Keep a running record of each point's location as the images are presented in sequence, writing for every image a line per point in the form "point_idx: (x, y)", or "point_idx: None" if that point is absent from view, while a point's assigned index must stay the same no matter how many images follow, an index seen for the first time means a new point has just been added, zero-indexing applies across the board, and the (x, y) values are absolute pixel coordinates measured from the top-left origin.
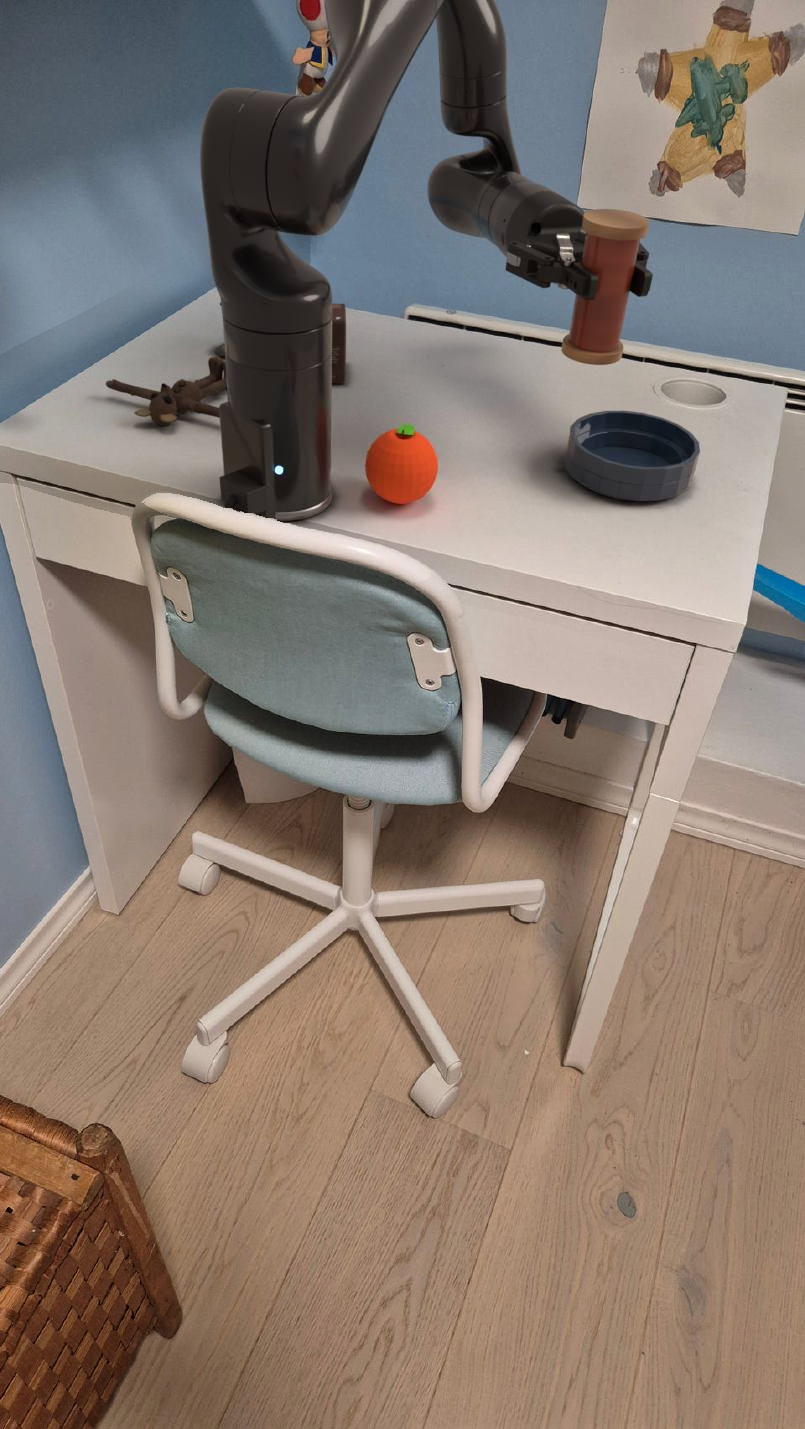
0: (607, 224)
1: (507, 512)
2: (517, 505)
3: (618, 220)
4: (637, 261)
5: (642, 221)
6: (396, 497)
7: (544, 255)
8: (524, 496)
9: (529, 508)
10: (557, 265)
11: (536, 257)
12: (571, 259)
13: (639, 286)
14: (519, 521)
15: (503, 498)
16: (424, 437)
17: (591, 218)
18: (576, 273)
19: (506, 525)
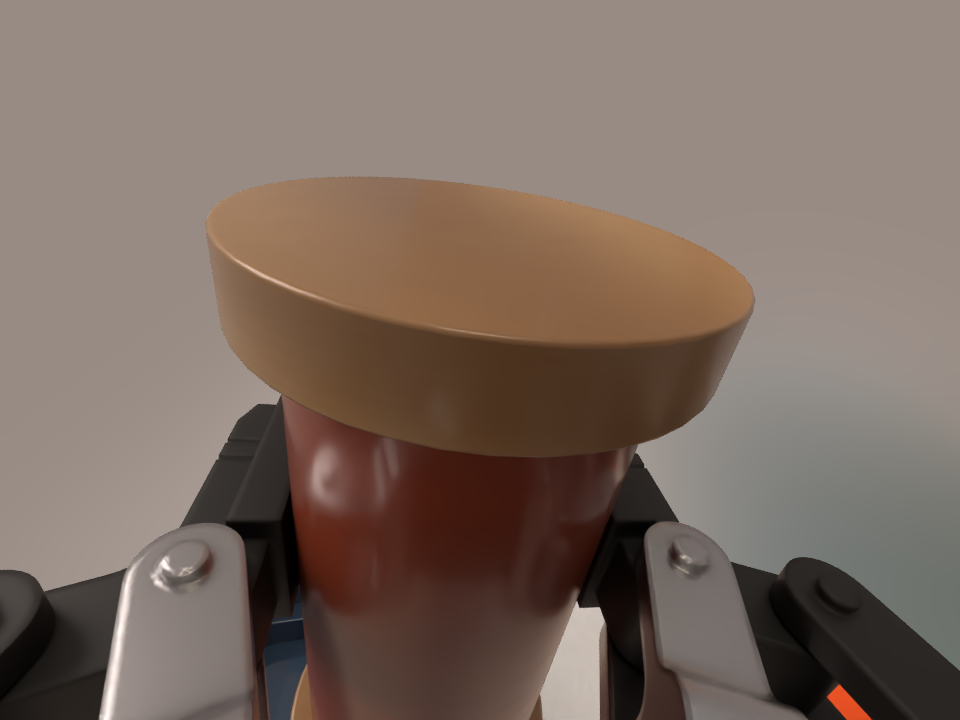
0: (587, 211)
1: (595, 655)
2: (574, 677)
3: (495, 212)
4: (120, 581)
5: (336, 185)
6: None
7: (885, 661)
8: (554, 712)
9: (553, 661)
10: (742, 582)
11: (931, 657)
12: (669, 557)
13: None
14: (577, 622)
15: (598, 712)
16: (837, 690)
17: (681, 250)
18: (630, 468)
19: (600, 615)
